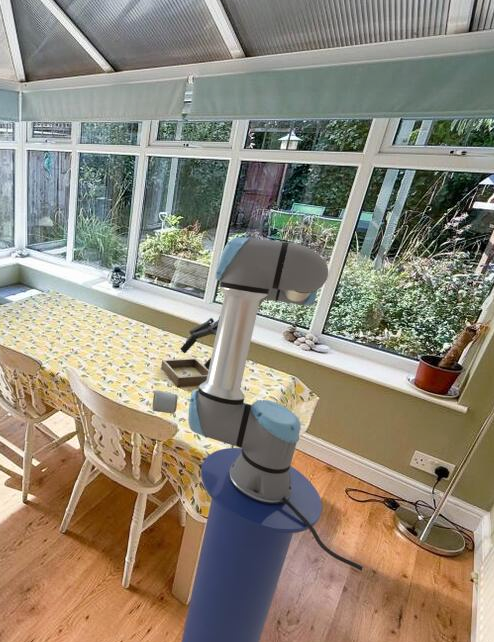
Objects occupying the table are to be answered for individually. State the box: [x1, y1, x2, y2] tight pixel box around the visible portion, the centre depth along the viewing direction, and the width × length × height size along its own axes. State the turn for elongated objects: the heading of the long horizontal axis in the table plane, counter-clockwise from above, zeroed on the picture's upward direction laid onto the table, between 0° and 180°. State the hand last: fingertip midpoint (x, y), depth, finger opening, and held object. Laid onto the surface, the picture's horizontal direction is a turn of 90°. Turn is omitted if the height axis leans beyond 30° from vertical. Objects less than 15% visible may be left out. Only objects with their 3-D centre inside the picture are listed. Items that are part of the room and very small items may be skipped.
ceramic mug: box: [151, 389, 178, 414], centre depth 150 cm, size 11×8×8 cm
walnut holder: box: [160, 357, 209, 388], centre depth 174 cm, size 16×16×5 cm
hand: (193, 359), depth 149 cm, fingers open, 13 cm apart
